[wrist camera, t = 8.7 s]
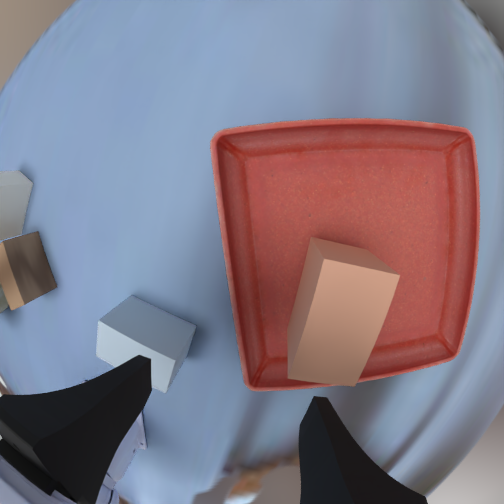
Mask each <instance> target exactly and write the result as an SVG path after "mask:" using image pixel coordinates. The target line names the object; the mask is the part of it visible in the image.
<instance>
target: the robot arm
mask: <svg viewBox="0 0 504 504" xmlns="http://www.w3.org/2000/svg"><path fill="white" fill-rule="evenodd" d="M151 391H152V381H151V359H150V358H147V357H145V356H142V355H137V356H135V357H134V358H132V359H130V360H128V361H126V362H125V363H123V364H121V365H119V366H118V367H116V368H114V369H112V370H110V371H108V372H106V373H104V374H102V375H100V376H98V377H96V378H94V379H91V380H89V381H87V382H86V381H83V382H82V384H79V385H76V386H73V387H70V388H66V389H62V390H58V391H53V392H48V393H42V394H32V395H6V394H3V395H2V396H1V397H0V435H1V436H2V439H1V440H0V504H119V497H118V492H117V490H116V489H114V486H115V484H116V482H117V481H119V480H120V479H121V478H122V477H123V476H124V474H125V472H126V470H127V469H128V467H129V465H130V463H131V461H132V459H133V457H134V456H135V454H136V452H137V450H138V448H141V449H143V450H146V448H147V445H146V439H145V432H144V425H143V417H142V410H143V408H144V406H145V404H146V402H147V400H148V398H149V396H150V393H151ZM299 458H300V473H301V499H300V504H428V503H427V500H426V497H425V496H423V495H421V494H419V493H417V492H415V491H413V490H411V489H409V488H407V487H405V486H404V485H402V484H401V483H399V482H398V481H396V480H395V479H393V478H392V477H391V476H389V475H388V474H387V473H386V472H385V471H383V470H382V469H381V468H380V467H379V466H378V465H376V464H375V463H374V462H373V461H372V460H371V459H370V457H369V456H368V455H367V454H366V453H365V452H364V451H363V450H362V449H361V448H360V446H359V445H358V444H357V443H356V441H355V440H354V439H353V437H352V436H351V434H350V433H349V432H348V430H347V429H346V427H345V426H344V424H343V423H342V421H341V419H340V418H339V416H338V415H337V413H336V411H335V410H334V408H333V406H332V405H331V403H330V401H329V400H328V398H326V397H317V396H314V397H313V399H312V401H311V403H310V406H309V408H308V410H307V412H306V414H305V416H304V418H303V420H302V422H301V424H300V430H299Z"/></svg>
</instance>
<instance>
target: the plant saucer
mask: <svg viewBox="0 0 504 504" xmlns="http://www.w3.org/2000/svg"><path fill="white" fill-rule="evenodd" d="M210 150H211V159H212V166H213V174H214V185H215V191H216V200H217V208H218V214H219V224H220V230H221V237H222V244H223V252H224V259H225V265H226V275H227V279H228V287H229V293H230V300H231V306H232V312H233V320H234V325H235V331H236V338H237V344H238V349H239V356H240V362H241V369H242V374H243V379H244V383H245V385H246V386H247V387H248V388H249V389H250V390H251V391H282V390H296V389H309V388H318V387H329V386H337V385H333V384H324V383H316V382H308V381H301V380H294V379H288V344H287V328H288V325H289V321H290V318H291V314H292V310H293V307H294V303H295V299H296V295H297V291H298V288H299V284H300V280H301V276H302V272H303V268H304V264H305V260H306V256H307V251H308V247H309V243H310V239H311V237H314V238H318V239H323V240H327V241H332V242H336V243H340V244H345V245H349V246H353V247H358V248H362V249H366V250H368V251H369V252H371V253H372V254H373V255H375V256H376V257H377V258H379V259H380V260H381V261H383V262H384V263H385V264H386V265H388V266H389V267H390V268H392V269H393V270H394V271H395V272H397V273H398V274H399V275H400V278H399V281H398V284H397V287H396V290H395V293H394V296H393V299H392V301H391V304H390V307H389V310H388V312H387V315H386V318H385V320H384V323H383V325H382V328H381V330H380V333H379V335H378V338H377V340H376V342H375V345H374V347H373V349H372V351H371V354H370V356H369V358H368V360H367V362H366V365H365V367H364V369H363V371H362V373H361V375H360V377H359V379H358V381H357V383H358V382H363V381H368V380H376V379H381V378H385V377H390V376H394V375H399V374H403V373H408V372H413V371H416V370H420V369H424V368H428V367H431V366H435V365H439V364H442V363H445V362H448V361H451V360H453V359H454V358H455V357H456V356H457V355H458V354H459V352H460V350H461V346H462V342H463V339H464V335H465V331H466V327H467V322H468V318H469V313H470V308H471V303H472V298H473V292H474V285H475V278H476V270H477V262H478V251H479V234H480V191H479V173H478V163H477V154H476V146H475V140H474V138H473V135H472V134H471V132H470V131H469V130H468V129H467V128H464V127H458V126H451V125H445V124H439V123H429V122H421V121H411V120H397V119H371V118H341V119H339V118H331V119H312V120H297V121H284V122H274V123H265V124H257V125H248V126H240V127H234V128H228V129H223V130H220V131H218V132H216V133H215V134H214V136H213V138H212V139H211V141H210Z"/></svg>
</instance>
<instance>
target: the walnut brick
mask: <svg viewBox="0 0 504 504" xmlns="http://www.w3.org/2000/svg"><path fill="white" fill-rule="evenodd" d="M0 283H1V285H2V288H3V291H4V294H5V296H6V299H7V301H8V304H9V306H10V309H11V311H12V310H14V309H16V308H18V307H20V306H23V305H25V304H27V303H29V302H30V301H32V300H34V299H36V298H38V297H40V296H42V295H43V294H45V293H47V292H49V291H51V290H53V289H55V288H57V284H56V282H55V279H54V277H53V274H52V272H51V269H50V266H49V263H48V261H47V258H46V255H45V252H44V249H43V246H42V242H41V239H40V236H39V232H38V231H37V232H34V233H30V234H26V235H23V236H19V237H15V238H12V239H8V240H5V241H2V242H1V243H0Z"/></svg>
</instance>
